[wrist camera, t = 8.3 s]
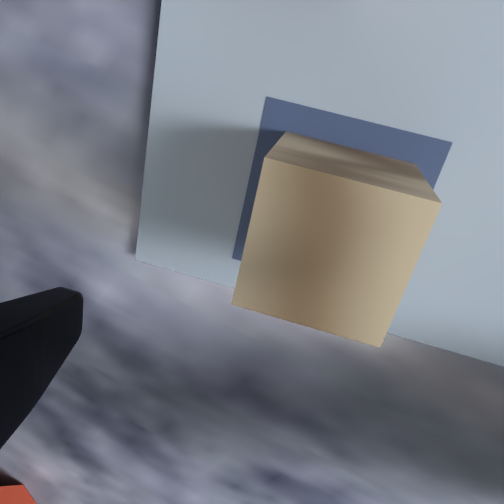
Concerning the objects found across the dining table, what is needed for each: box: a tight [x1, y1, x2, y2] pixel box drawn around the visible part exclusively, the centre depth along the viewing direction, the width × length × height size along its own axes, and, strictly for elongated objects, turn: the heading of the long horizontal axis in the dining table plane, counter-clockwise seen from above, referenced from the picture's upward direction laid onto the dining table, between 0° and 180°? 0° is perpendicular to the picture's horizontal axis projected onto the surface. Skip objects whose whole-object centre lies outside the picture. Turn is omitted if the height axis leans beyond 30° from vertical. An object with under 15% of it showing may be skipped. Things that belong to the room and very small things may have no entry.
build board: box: [135, 0, 504, 367], centre depth 15 cm, size 24×18×1 cm
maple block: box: [232, 131, 442, 348], centre depth 15 cm, size 5×5×5 cm
